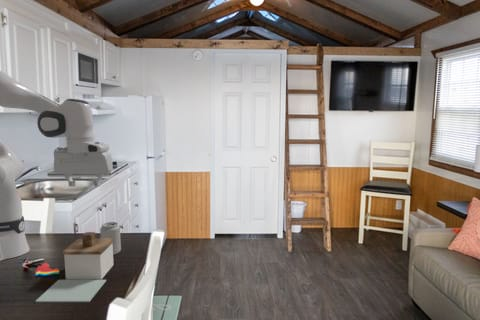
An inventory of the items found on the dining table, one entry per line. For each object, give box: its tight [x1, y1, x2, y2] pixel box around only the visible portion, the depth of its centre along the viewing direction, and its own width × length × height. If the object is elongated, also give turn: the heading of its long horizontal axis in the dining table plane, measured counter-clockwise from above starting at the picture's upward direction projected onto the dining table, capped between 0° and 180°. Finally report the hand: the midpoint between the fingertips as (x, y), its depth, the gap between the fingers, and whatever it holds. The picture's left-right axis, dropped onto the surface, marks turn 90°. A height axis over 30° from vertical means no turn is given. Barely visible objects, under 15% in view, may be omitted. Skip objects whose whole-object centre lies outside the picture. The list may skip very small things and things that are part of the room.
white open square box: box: [63, 244, 114, 280], centre depth 129 cm, size 12×12×9 cm
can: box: [99, 221, 122, 256], centre depth 147 cm, size 8×8×12 cm
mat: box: [34, 279, 107, 303], centre depth 116 cm, size 16×14×1 cm
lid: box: [61, 231, 114, 256], centre depth 128 cm, size 13×13×5 cm
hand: (84, 186), depth 128 cm, fingers open, 8 cm apart
